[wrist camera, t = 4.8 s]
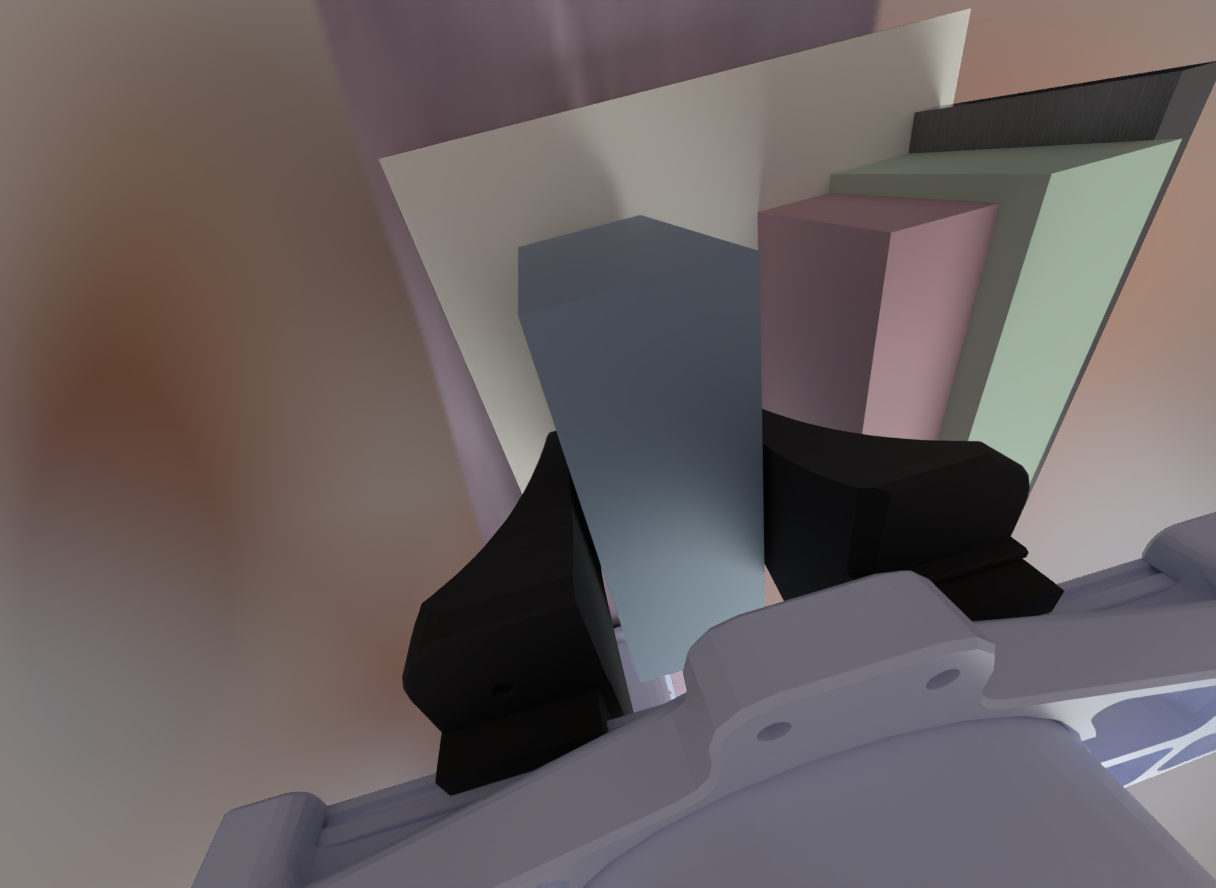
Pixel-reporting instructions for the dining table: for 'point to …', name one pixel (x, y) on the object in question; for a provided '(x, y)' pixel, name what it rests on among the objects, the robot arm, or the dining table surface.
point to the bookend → (1077, 134)
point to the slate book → (656, 418)
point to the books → (950, 289)
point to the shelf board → (652, 181)
